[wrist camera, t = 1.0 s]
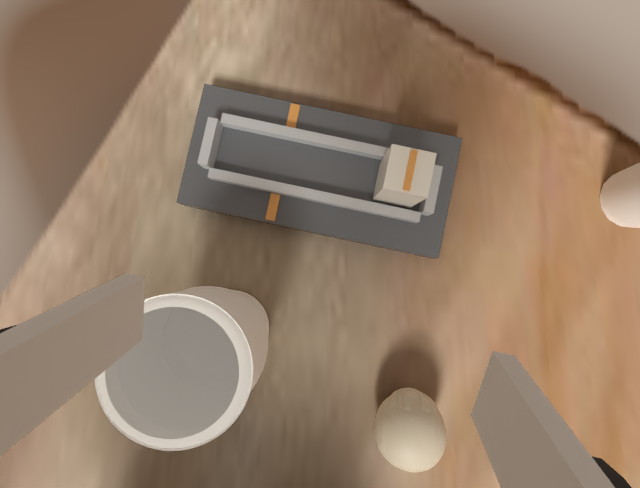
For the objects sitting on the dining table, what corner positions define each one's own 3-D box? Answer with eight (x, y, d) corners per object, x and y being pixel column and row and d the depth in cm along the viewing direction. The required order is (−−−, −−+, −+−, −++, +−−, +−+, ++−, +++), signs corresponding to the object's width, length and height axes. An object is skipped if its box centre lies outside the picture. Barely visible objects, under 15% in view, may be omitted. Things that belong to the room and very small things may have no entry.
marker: (274, 221, 36) (274, 221, 36) (265, 219, 36) (265, 219, 36) (300, 105, 37) (300, 105, 37) (291, 103, 37) (291, 103, 37)
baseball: (435, 381, 37) (460, 407, 31) (429, 450, 37) (453, 492, 30) (373, 375, 37) (385, 400, 31) (366, 443, 37) (377, 484, 30)
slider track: (432, 258, 38) (445, 258, 34) (184, 205, 38) (168, 198, 34) (454, 144, 39) (470, 131, 35) (210, 92, 39) (197, 73, 35)
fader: (409, 207, 36) (428, 197, 30) (372, 200, 36) (383, 187, 30) (417, 170, 36) (437, 152, 30) (380, 163, 36) (392, 142, 30)
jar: (274, 275, 38) (245, 285, 23) (283, 370, 37) (260, 444, 22) (178, 285, 38) (85, 302, 23) (186, 380, 37) (97, 461, 22)
